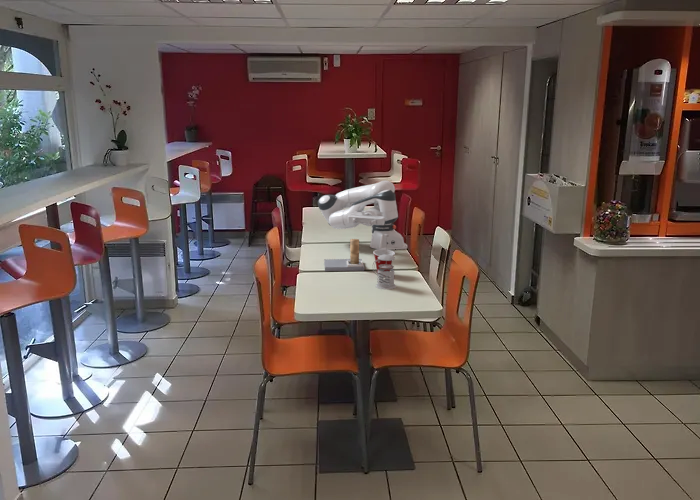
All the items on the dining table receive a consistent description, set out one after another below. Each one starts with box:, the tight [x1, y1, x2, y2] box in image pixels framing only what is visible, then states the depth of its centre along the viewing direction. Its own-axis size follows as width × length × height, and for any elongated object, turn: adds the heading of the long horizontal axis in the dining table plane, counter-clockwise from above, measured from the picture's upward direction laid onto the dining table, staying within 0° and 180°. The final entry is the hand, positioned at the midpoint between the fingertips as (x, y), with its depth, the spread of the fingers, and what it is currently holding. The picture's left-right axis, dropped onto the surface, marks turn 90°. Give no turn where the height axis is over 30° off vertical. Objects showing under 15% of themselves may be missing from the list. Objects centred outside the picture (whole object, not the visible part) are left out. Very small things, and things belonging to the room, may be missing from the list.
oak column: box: [349, 238, 360, 264], centre depth 301 cm, size 4×4×13 cm
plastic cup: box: [372, 249, 396, 277], centre depth 289 cm, size 11×11×12 cm
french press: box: [372, 234, 397, 290], centre depth 270 cm, size 10×12×25 cm
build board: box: [323, 258, 365, 272], centre depth 305 cm, size 20×16×3 cm
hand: (362, 222), depth 308 cm, fingers open, 8 cm apart
